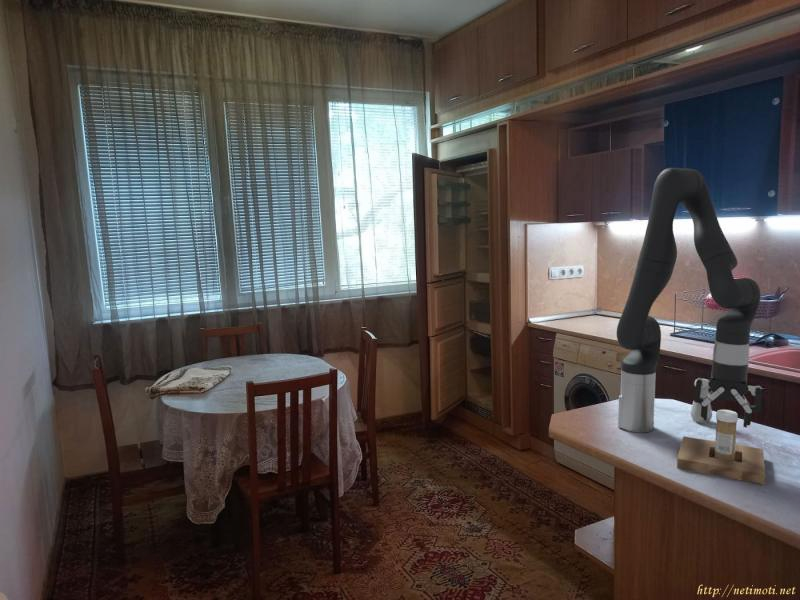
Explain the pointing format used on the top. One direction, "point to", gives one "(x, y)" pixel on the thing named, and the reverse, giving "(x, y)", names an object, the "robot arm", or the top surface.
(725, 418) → the sprinkles bottle
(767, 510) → the top surface
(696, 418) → the salt shaker
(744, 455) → the holder board
